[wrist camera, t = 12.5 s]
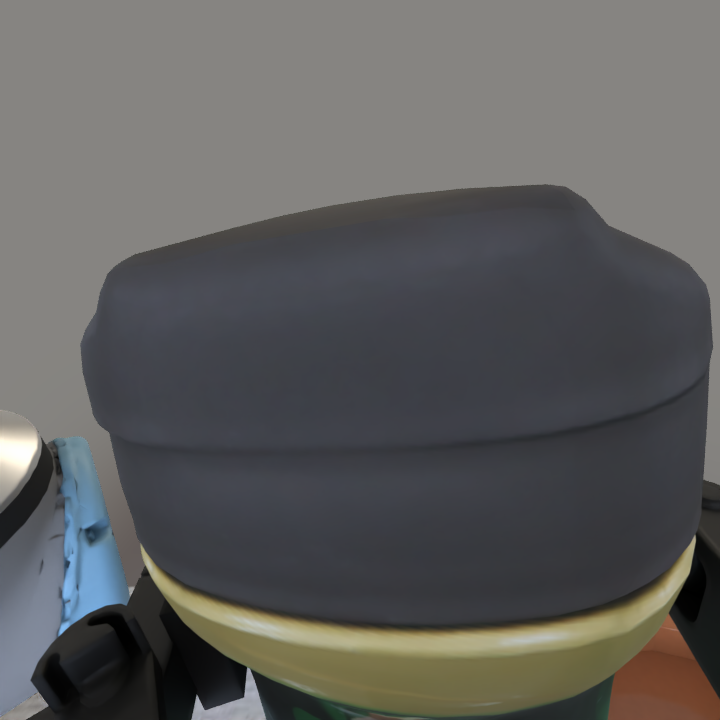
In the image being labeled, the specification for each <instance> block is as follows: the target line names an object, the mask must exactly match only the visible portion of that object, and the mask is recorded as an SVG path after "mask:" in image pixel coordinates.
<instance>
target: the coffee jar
mask: <svg viewBox="0 0 720 720" xmlns="http://www.w3.org/2000/svg"><path fill="white" fill-rule="evenodd" d="M712 349H713V341H712V326H711V310H710V298H709V294H708V290H707V287H706V284H705V283H704V282H703V281H702V279H701V278H700V277H699V276H698V274H697V273H696V272H695V271H694V270H693V268H692V267H691V266H690V265H689V264H688V263H686V262H685V261H683V260H681V259H680V258H678V257H677V256H675V255H674V254H672V253H670V252H668V251H665V250H663V249H661V248H659V247H656V246H654V245H652V244H649V243H647V242H645V241H642V240H640V239H638V238H635V237H633V236H631V235H629V234H626V233H624V232H622V231H619V230H617V229H615V228H613V227H610V226H608V225H607V224H606V223H605V222H604V220H603V219H602V218H601V217H600V215H599V214H598V213H597V212H596V211H595V210H594V209H593V207H592V206H591V205H590V204H589V203H588V202H587V200H586V199H584V198H582V197H581V196H579V195H578V194H576V193H575V192H573V191H572V190H570V189H568V188H567V187H563V186H555V185H546V184H545V185H526V186H507V187H487V188H468V189H456V190H446V191H437V192H427V193H416V194H405V195H396V196H390V197H384V198H377V199H370V200H364V201H358V202H351V203H345V204H339V205H333V206H328V207H323V208H318V209H313V210H308V211H303V212H298V213H294V214H289V215H284V216H280V217H276V218H272V219H268V220H264V221H260V222H256V223H252V224H248V225H244V226H240V227H236V228H232V229H229V230H224V231H221V232H217V233H214V234H210V235H206V236H202V237H198V238H195V239H191V240H187V241H183V242H180V243H176V244H172V245H168V246H165V247H161V248H157V249H154V250H150V251H146V252H143V253H139V254H135V255H133V256H131V257H129V258H127V259H126V260H124V261H122V262H121V263H119V264H118V265H116V266H115V267H114V268H113V269H112V270H111V271H110V272H109V273H108V275H107V277H106V279H105V282H104V284H103V287H102V289H101V292H100V296H99V301H98V306H97V311H96V313H95V315H94V317H93V318H92V320H91V321H90V323H89V325H88V327H87V328H86V330H85V333H84V336H83V339H82V341H81V356H82V367H83V375H84V378H85V383H86V386H87V391H88V395H89V399H90V402H91V407H92V411H93V415H94V417H95V419H96V421H97V422H98V424H99V425H100V426H101V427H102V428H104V429H105V430H107V431H108V432H109V433H110V437H111V442H112V447H113V452H114V456H115V460H116V464H117V469H118V473H119V477H120V482H121V485H122V488H123V491H124V494H125V497H126V500H127V503H128V506H129V509H130V512H131V514H132V517H133V520H134V525H135V530H136V534H137V537H138V539H139V541H140V543H141V553H142V557H143V560H144V563H145V565H146V567H147V569H148V571H149V573H150V575H151V577H152V579H153V581H154V583H155V584H156V585H157V587H158V588H159V590H160V591H161V593H162V594H163V596H164V597H165V598H166V600H167V601H168V602H169V604H170V605H171V606H172V608H173V609H174V610H175V612H176V613H177V614H178V616H179V617H180V618H181V620H182V621H183V622H184V623H185V624H186V625H187V626H188V627H189V628H190V629H192V630H193V631H194V632H195V633H196V634H197V635H198V636H200V637H201V638H202V639H204V640H205V641H206V642H208V643H209V644H210V645H212V646H213V647H214V648H216V649H217V650H218V651H220V652H221V653H222V654H224V655H225V656H227V657H229V658H231V659H233V660H235V661H236V662H238V663H240V664H242V665H244V666H246V667H248V668H250V669H251V672H252V675H253V677H254V680H255V683H256V686H257V689H258V693H259V696H260V700H261V703H262V706H263V710H264V713H265V716H266V720H608V714H609V706H610V698H611V692H612V685H613V680H614V676H615V672H617V671H618V670H619V669H620V668H621V667H622V666H624V665H625V664H626V663H627V662H628V661H630V660H631V659H632V658H633V657H634V656H635V655H637V654H638V653H639V652H640V651H641V649H642V648H643V647H644V646H645V645H646V644H647V643H648V642H649V641H650V639H651V638H652V637H653V636H654V635H655V634H656V633H657V632H658V630H659V629H660V627H661V626H662V624H663V622H664V621H665V619H666V617H667V615H668V613H669V611H670V609H671V607H672V606H673V604H674V602H675V600H676V598H677V596H678V594H679V592H680V590H681V589H682V587H683V585H684V583H685V581H686V579H687V577H688V575H689V573H690V569H691V563H692V558H693V553H694V548H695V543H696V536H695V534H696V532H697V530H698V526H699V521H700V517H701V504H702V489H703V474H704V458H705V443H706V429H707V407H708V385H709V384H708V383H709V363H710V358H711V353H712Z"/></svg>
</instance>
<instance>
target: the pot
mask: <svg viewBox="0 0 720 720" xmlns="http://www.w3.org/2000/svg"><path fill="white" fill-rule="evenodd" d="M608 720H720V699H719V697H718V696H717V694H716V692H715V691H714V689H713V687H712V686H711V684H710V682H709V681H708V679H707V677H706V676H705V674H704V672H703V671H702V669H701V667H700V666H699V664H698V662H697V660H696V659H695V657H694V655H693V654H692V652H691V650H690V649H689V647H688V645H687V644H686V642H685V640H684V639H683V637H682V635H681V634H680V632H679V630H678V629H677V627H676V625H675V623H674V622H673V620H672V618H671V617H670V615H669V613H668V615H667V617H666V619H665V621H664V622H663V624H662V626H661V627H660V629H659V630H658V632H657V633H656V634H655V635H654V636H653V637H652V638H651V639H650V641H649V642H648V643H647V644H646V645H645V646H644V647H643V648H642V649H641V651H640V652H639V653H638V654H637V655H635V656H634V657H633V658H632V659H631V660H630V661H628V662H627V663H626V664H625V665H624V666H622V667H621V668H620V669H619V670H618V671H617V672H615V676H614V680H613V685H612V692H611V698H610V706H609V714H608Z"/></svg>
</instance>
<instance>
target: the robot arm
mask: <svg viewBox="0 0 720 720" xmlns="http://www.w3.org/2000/svg"><path fill="white" fill-rule="evenodd" d="M695 536H696V543H695V548H694V553H693V558H692V563H691V569H690V573H689V575H688V577H687V579H686V581H685V583H684V585H683V587H682V589H681V590H680V592H679V594H678V596H677V598H676V600H675V602H674V604H673V606H672V607H671V609H670V611H669V615H670V617H671V618H672V620H673V622H674V623H675V625H676V627H677V629H678V630H679V632H680V634H681V635H682V637H683V639H684V640H685V642H686V644H687V645H688V647H689V649H690V650H691V652H692V654H693V655H694V657H695V659H696V660H697V662H698V664H699V666H700V667H701V669H702V671H703V672H704V674H705V676H706V677H707V679H708V681H709V682H710V684H711V686H712V687H713V689H714V691H715V692H716V694H717V696H718V697H719V699H720V485H717V484H715V483H712V482H709V481H705V480H703V489H702V504H701V517H700V521H699V526H698V530H697V532H696V534H695ZM141 575H142V576H141V578H139V580H138V582H137V585H136V586H135V589H134V591H133V593H132V595H131V597H130V595H129V589H128V585H127V582H126V578H125V574H124V570H123V566H122V563H121V559H120V556H119V552H118V549H117V545H116V541H115V538H114V535H113V531H112V528H111V525H110V519H109V516H108V512H107V509H106V506H105V501H104V497H103V493H102V490H101V486H100V482H99V479H98V475H97V472H96V469H95V465H94V462H93V458H92V455H91V452H90V448H89V445H88V443H87V441H86V439H84V438H82V437H80V436H79V437H78V436H77V437H69V438H56V439H54V440H53V441H51V442H49V443H48V444H47V445H46V444H45V443H44V441H43V440H42V438H41V436H40V435H39V432H38V431H37V429H36V428H35V427H34V426H33V425H32V424H31V423H30V422H29V420H27V418H25V417H23V416H21V415H19V414H17V413H13V412H9V411H6V410H0V717H1V716H3V715H4V714H6V713H7V712H9V711H10V710H12V709H13V708H15V707H16V706H17V705H19V704H20V703H22V702H23V701H25V700H26V699H28V698H29V697H31V696H32V695H34V694H35V693H37V692H39V693H40V694H41V696H42V697H43V698H44V700H45V701H46V702H47V704H48V705H49V706H48V707H47V708H45V709H43V710H42V711H40V712H38V713H37V714H35V715H33V716H32V717H30V718H28V719H26V720H191V719H192V714H193V709H194V704H195V700H196V695H198V697H199V699H200V701H201V703H202V705H203V708H204V710H207V709H210V708H213V707H216V706H219V705H222V704H225V703H228V702H231V701H234V700H237V699H240V698H243V697H244V693H245V683H246V673H247V667H246V666H244V665H242V664H240V663H238V662H236V661H235V660H233V659H231V658H229V657H227V656H225V655H224V654H222V653H221V652H220V651H218V650H217V649H216V648H214V647H213V646H212V645H210V644H209V643H208V642H206V641H205V640H204V639H202V638H201V637H200V636H198V635H197V634H196V633H195V632H194V631H193V630H192V629H190V628H189V627H188V626H187V625H186V624H185V623H184V622H183V621H182V620H181V618H180V617H179V616H178V614H177V613H176V612H175V610H174V609H173V608H172V606H171V605H170V604H169V602H168V601H167V600H166V598H165V597H164V596H163V594H162V593H161V591H160V590H159V588H158V587H157V585H156V584H155V583H154V581H153V579H152V577H151V575H150V573H149V571H148V569H147V567H146V565H145V567H144V569H143V571H142V574H141Z"/></svg>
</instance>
